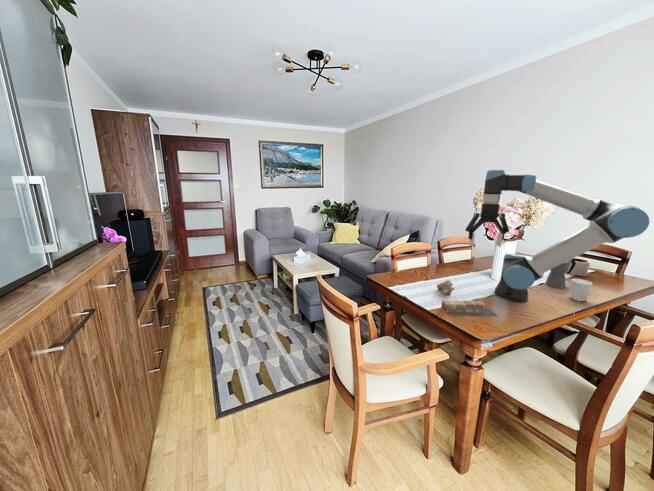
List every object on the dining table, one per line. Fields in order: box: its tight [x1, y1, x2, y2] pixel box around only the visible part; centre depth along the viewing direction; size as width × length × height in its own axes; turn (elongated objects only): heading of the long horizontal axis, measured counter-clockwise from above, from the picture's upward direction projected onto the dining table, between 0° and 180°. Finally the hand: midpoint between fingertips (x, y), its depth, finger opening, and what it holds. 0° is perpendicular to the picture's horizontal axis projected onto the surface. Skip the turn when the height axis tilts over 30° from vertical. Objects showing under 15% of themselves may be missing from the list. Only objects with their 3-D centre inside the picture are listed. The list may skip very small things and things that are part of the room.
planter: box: [567, 257, 591, 277], centre depth 182 cm, size 11×11×10 cm
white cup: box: [568, 278, 593, 301], centre depth 143 cm, size 8×8×10 cm
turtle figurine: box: [436, 280, 455, 295], centre depth 150 cm, size 8×7×12 cm
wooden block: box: [440, 300, 485, 313], centre depth 131 cm, size 4×4×18 cm
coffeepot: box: [545, 260, 576, 288], centre depth 162 cm, size 15×9×18 cm, turn 87°
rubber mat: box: [449, 304, 499, 317], centre depth 131 cm, size 21×11×1 cm, turn 89°
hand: (484, 245), depth 138 cm, fingers open, 13 cm apart
